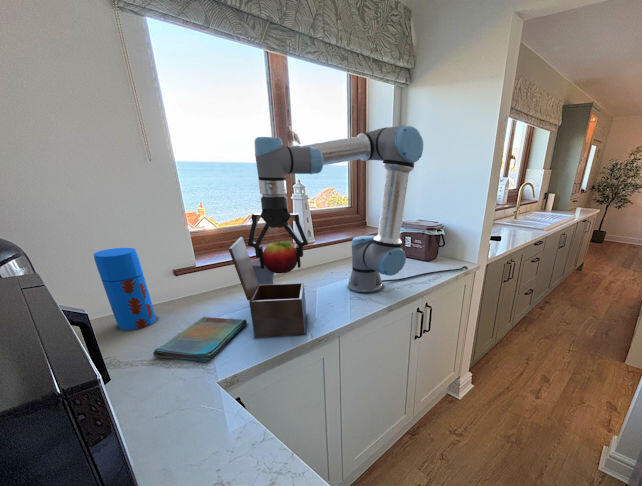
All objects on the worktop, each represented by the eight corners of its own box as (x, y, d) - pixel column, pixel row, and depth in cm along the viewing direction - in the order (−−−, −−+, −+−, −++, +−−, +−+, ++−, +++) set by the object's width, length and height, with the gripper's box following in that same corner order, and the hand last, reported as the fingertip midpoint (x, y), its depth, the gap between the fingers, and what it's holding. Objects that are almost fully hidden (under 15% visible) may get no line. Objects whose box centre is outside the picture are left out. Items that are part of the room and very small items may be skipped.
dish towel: (151, 358, 92) (149, 350, 91) (201, 320, 113) (200, 314, 112) (209, 362, 91) (207, 355, 90) (248, 323, 112) (247, 317, 111)
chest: (306, 315, 119) (303, 282, 114) (304, 334, 106) (301, 299, 101) (262, 317, 117) (257, 284, 112) (254, 338, 104) (249, 301, 98)
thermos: (117, 321, 112) (92, 250, 102) (154, 312, 118) (134, 245, 108) (119, 333, 104) (93, 258, 94) (158, 324, 111) (137, 253, 100)
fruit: (284, 263, 112) (281, 235, 108) (306, 270, 106) (303, 240, 102) (257, 271, 104) (252, 240, 100) (279, 279, 98) (275, 246, 94)
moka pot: (276, 310, 122) (269, 259, 114) (239, 306, 125) (230, 256, 117) (287, 300, 131) (282, 252, 123) (253, 296, 134) (246, 249, 125)
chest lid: (242, 236, 104) (239, 237, 104) (231, 248, 91) (228, 248, 91) (258, 283, 111) (256, 283, 111) (250, 300, 98) (247, 300, 98)
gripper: (228, 196, 90) (240, 271, 99) (313, 197, 94) (317, 269, 103) (235, 193, 97) (246, 264, 106) (313, 194, 101) (317, 262, 110)
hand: (281, 266), depth 104 cm, fingers closed on fruit, 11 cm apart
